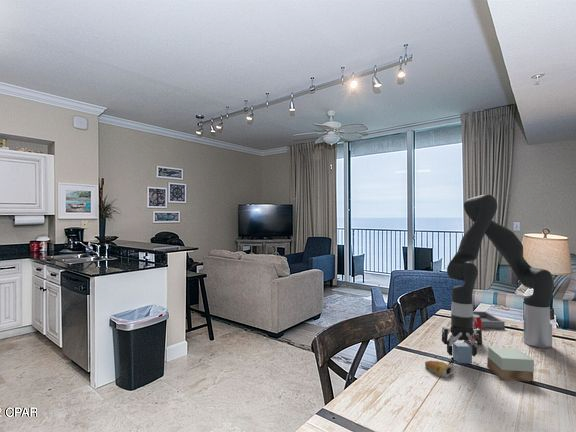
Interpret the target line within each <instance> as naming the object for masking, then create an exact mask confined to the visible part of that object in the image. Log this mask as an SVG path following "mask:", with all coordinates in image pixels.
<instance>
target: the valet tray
mask: <svg viewBox="0 0 576 432" xmlns="http://www.w3.org/2000/svg"><path fill="white" fill-rule="evenodd" d="M473 314H477V315H479V316H480V318H481V321H482V329H490V330H491V329H493V330H494V329H495V330H496V329H497V330H505V329H506V328H505V325H506V324H505V321H504V320H502V319H500V318H498V317H496V316H495V315H493V314H490V313H489V312H487V311H477V310H473Z"/></svg>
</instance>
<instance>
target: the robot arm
mask: <svg viewBox="0 0 576 432" xmlns="http://www.w3.org/2000/svg"><path fill="white" fill-rule="evenodd" d="M463 208H464V212H465V213H466V215H467V217H469V219H470V220H471V221H472V222H473V224H472V225H471V226H470V227H469V228H468V229H467V230H466V232H465V233H464V234H463V236H462V237H461V239H460V244H459V247H458V249H457V252H456V253H455V254H454V255H453V258H452V259H451V260H450V261H449V263H448V265H447V266H446V267H447V269H446V274H447V276H448V277H449V278H450V279H451V280H455V281H461V282H464V284H463V285H455V286H453V287H452V289H451V306H450V309H451V311H450V313H451V314H450V327H449V328H448V327H446V326H443V327H442V329H441V332H442V333H441V342H442V343H443V344H444V345H446V353H447V354H448V355H449V356H450V357H451V356H452V357H453V343H454V342H455V343H457V341H465V342H466V341H467V340H469V341H470V343H469V344H471V345H470V347H471V348H472V357H476V356H477V353H478V347H479V346H483V333H482V331H483V330H482V331H481V330H480V329H478V328H476V329H473V311H474V306H473V293H474V287H475V284H476V281H477V278H478V275H479V270H478V268H477V265H475V264H474V263H471V262H473V261H475V260H477V258H478V256H479V255H478V254H479V251H480V248H481V245H482V241H483V239H484V236H486V237H487V239H489V240H490V242H491V243H492V245H493V246H494V247H495V249H496V250H497V251H498V252H499V254H500V255H501V256H502V257H503V259H504V260H505V261H506V262H507V265H509V267H510V268H511V270H512V271H513V272H514V274H515V276H516V278H517V279H518V281H519V282H520V284H522V286H524V287H526V288H529V289H533V292H532V294H531V295H526V296H524V297H523V343H525V344H526V345H528V346H531V347H536V348H543V349H545V348H550V347H553V324H552V323H551V302H552V298H553V289H554V279H553V275H552V273H551V272H550V271H549V270H548V269H543V268H538V267H534V266H531V265H530V264H529V263H528V262H527V260H526V259H525V258H524V246H523V243H522V242H521V240H520V239H519V237H518V236H517V235H516V234H515V232H513V231H512V230H511V229H509V228H508V227H506V226H504V225H502V224H499V223H498V222H495V221H494V220H493V219H494V217H495V215H496V213H497V209H498V203H497V200H496V197H494V196H493V195H491V194H488V193H486V194H482V195H477V196H474V197H471V198H470V197H469V198H468V199H466V200H465V201H464V202H463ZM450 333H451V334H450ZM473 333H475V334H476V341H474V340H473V338H472V337H471V336H472V334H473ZM449 334H450V336H448V335H449Z"/></svg>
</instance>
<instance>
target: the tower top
mask: <svg viewBox="0 0 576 432" xmlns="http://www.w3.org/2000/svg"><path fill="white" fill-rule="evenodd" d="M487 357H488V358H489V359H491V360H492V361H493V362H494V363H495V364H496V365H497V366H498V367H500V368H501V369H502V370H513V371H530V372H533V373H534V372H535V360H534V359H533V358H532V357H530V356H529V355H528V354H526V353H525V352H523V351H522V350H521V349H519V348H518V347H502V346H500V347H499V346H487Z"/></svg>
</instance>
